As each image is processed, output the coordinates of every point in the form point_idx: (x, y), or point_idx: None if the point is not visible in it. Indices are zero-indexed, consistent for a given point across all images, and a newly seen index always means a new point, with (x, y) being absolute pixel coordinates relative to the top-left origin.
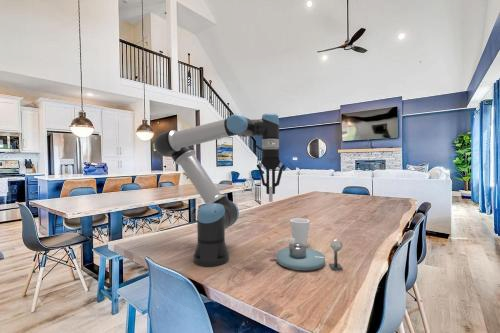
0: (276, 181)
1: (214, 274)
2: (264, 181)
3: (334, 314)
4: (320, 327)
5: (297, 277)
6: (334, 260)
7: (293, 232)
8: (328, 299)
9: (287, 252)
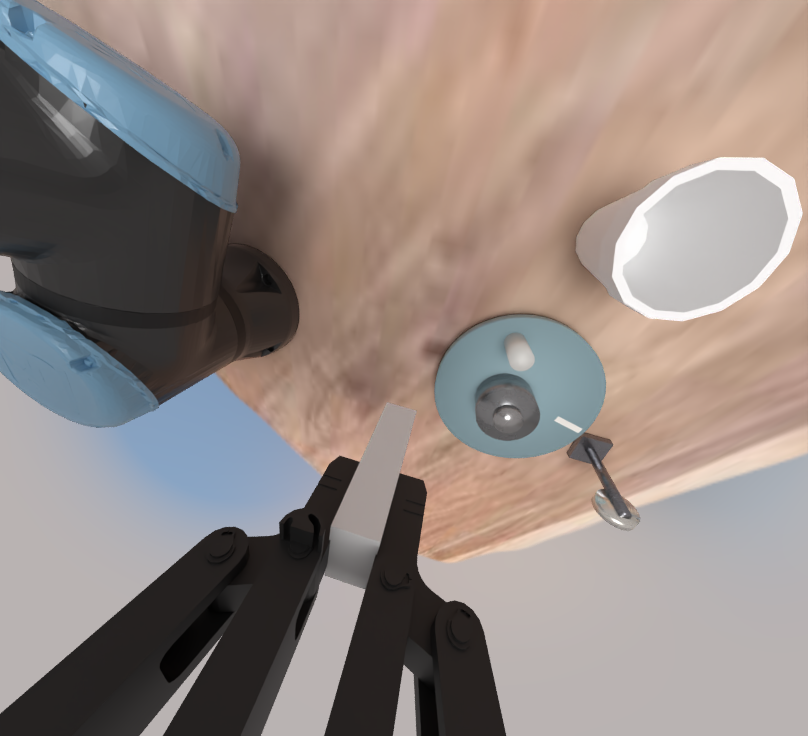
0: (441, 685)
1: (275, 390)
2: (204, 653)
3: (458, 548)
4: (424, 555)
5: (456, 454)
6: (591, 462)
7: (592, 262)
8: (472, 524)
9: (483, 363)
